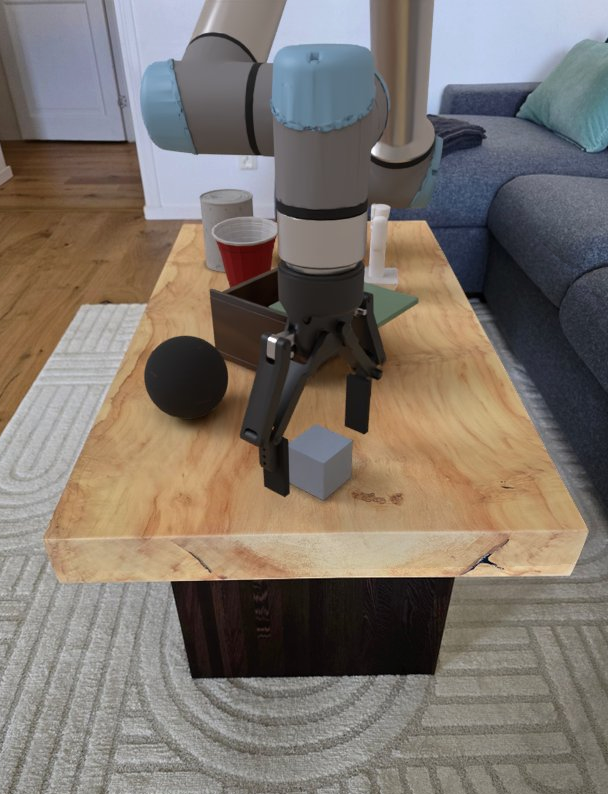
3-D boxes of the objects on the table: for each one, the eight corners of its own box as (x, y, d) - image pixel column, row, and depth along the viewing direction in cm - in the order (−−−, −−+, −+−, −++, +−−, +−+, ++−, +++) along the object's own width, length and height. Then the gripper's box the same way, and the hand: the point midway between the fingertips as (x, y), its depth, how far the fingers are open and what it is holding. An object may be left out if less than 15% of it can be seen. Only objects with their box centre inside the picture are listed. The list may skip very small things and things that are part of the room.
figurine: (395, 285, 112) (402, 197, 103) (396, 307, 104) (404, 214, 95) (354, 284, 112) (358, 196, 103) (352, 306, 105) (356, 213, 96)
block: (315, 459, 72) (315, 423, 69) (351, 477, 69) (353, 440, 66) (286, 482, 68) (285, 444, 65) (323, 501, 66) (324, 463, 63)
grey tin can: (233, 250, 126) (228, 186, 119) (266, 262, 121) (263, 195, 114) (195, 263, 121) (188, 196, 113) (229, 276, 116) (223, 207, 108)
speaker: (240, 395, 83) (234, 324, 77) (218, 439, 75) (210, 364, 69) (167, 388, 84) (156, 318, 78) (138, 430, 76) (123, 356, 70)
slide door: (334, 278, 90) (335, 252, 88) (418, 303, 83) (421, 275, 81) (268, 312, 82) (267, 283, 79) (356, 342, 75) (357, 312, 72)
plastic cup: (210, 310, 104) (203, 236, 97) (225, 284, 113) (219, 215, 105) (275, 313, 103) (273, 239, 96) (286, 287, 111) (284, 217, 104)
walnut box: (287, 317, 101) (285, 256, 95) (358, 342, 94) (362, 278, 88) (215, 355, 91) (208, 289, 85) (290, 386, 84) (288, 317, 78)
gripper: (367, 217, 64) (357, 397, 76) (182, 293, 48) (208, 504, 61) (432, 231, 60) (411, 418, 73) (255, 319, 44) (267, 538, 57)
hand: (319, 457), depth 67 cm, fingers open, 13 cm apart
